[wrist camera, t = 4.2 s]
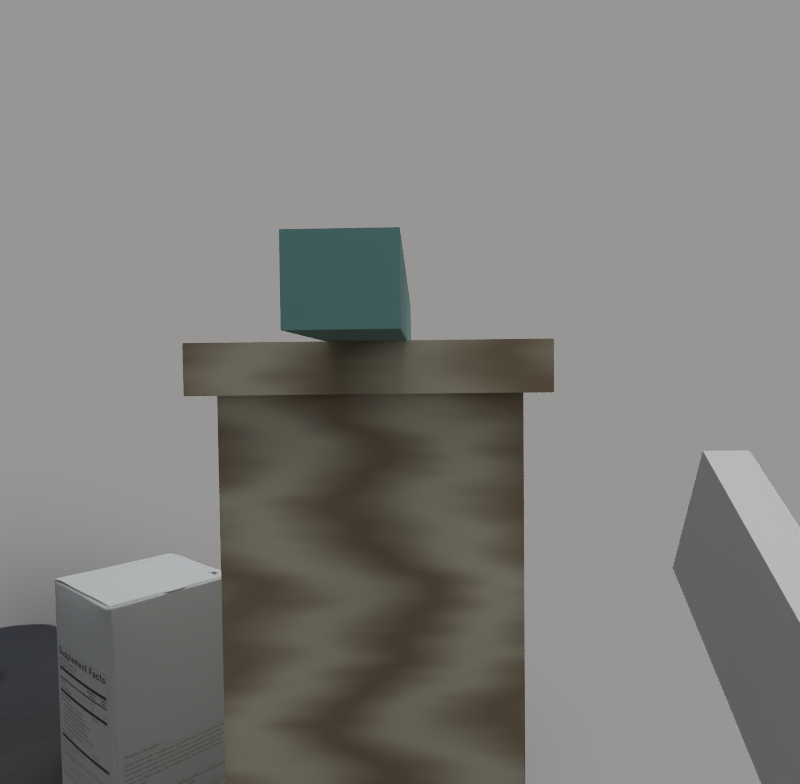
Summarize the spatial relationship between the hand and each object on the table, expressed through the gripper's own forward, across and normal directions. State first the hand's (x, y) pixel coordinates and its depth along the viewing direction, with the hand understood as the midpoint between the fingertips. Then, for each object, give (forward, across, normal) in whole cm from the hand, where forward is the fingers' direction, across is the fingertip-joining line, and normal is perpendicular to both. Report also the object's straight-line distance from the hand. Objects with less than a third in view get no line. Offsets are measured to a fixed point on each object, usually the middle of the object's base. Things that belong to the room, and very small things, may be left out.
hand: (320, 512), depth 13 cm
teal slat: (+17, 0, -6) cm, 18 cm away
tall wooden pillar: (+6, 0, -34) cm, 35 cm away
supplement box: (+17, -17, -41) cm, 47 cm away
